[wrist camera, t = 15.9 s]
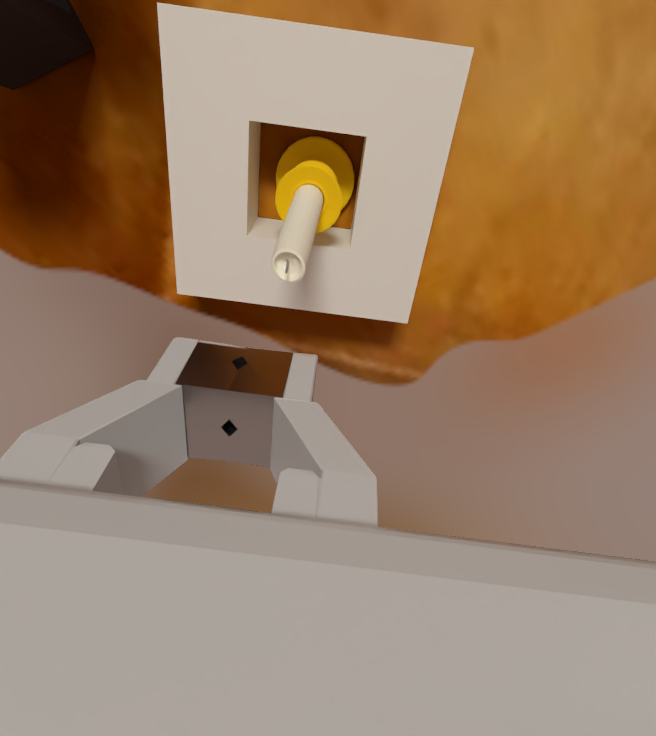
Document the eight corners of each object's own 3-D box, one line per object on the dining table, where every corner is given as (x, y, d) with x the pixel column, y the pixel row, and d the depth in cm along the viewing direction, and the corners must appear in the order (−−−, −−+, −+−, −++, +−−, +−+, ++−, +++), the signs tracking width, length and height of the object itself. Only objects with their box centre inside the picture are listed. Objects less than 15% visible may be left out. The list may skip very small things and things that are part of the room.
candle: (274, 212, 33) (222, 320, 20) (279, 130, 30) (220, 197, 17) (348, 222, 33) (342, 336, 21) (360, 141, 30) (361, 216, 18)
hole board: (460, 47, 27) (474, 47, 24) (403, 298, 36) (407, 323, 33) (181, 7, 27) (156, 2, 24) (193, 270, 36) (177, 293, 33)
